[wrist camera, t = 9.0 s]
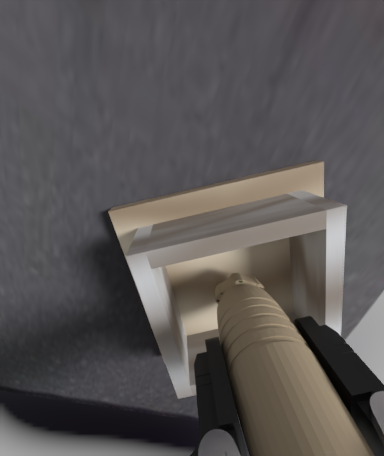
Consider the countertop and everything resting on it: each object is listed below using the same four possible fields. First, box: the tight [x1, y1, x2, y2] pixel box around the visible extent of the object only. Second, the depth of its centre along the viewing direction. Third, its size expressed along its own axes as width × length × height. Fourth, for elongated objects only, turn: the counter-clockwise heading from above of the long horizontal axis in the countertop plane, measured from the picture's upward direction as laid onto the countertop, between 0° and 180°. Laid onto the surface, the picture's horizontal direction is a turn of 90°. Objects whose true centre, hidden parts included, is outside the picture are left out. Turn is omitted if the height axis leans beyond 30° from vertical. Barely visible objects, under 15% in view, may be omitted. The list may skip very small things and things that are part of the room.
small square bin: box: [108, 161, 347, 399], centre depth 15 cm, size 14×14×5 cm
